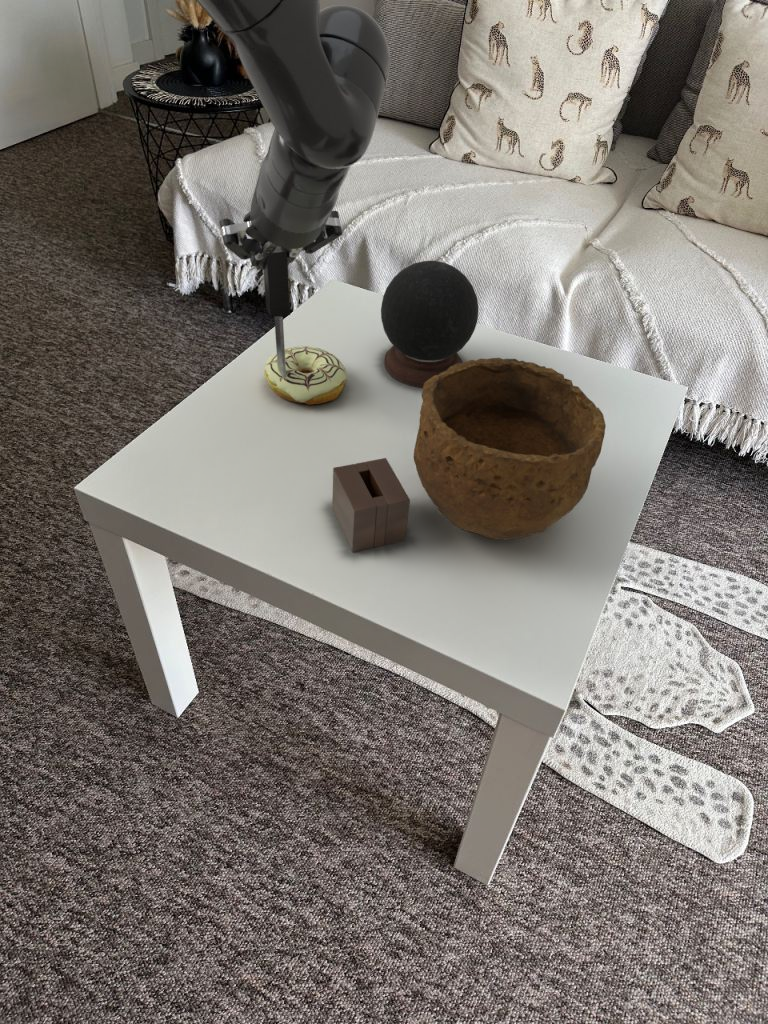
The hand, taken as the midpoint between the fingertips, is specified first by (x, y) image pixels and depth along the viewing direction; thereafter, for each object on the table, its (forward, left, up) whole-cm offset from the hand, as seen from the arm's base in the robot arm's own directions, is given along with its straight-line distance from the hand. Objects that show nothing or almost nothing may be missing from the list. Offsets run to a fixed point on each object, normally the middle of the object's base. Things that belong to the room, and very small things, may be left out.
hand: (270, 260), depth 84 cm
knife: (+3, -3, -13) cm, 14 cm away
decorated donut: (+4, +1, -17) cm, 18 cm away
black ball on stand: (+17, +13, -17) cm, 27 cm away
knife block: (+21, -21, -17) cm, 34 cm away
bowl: (+33, -13, -17) cm, 40 cm away
